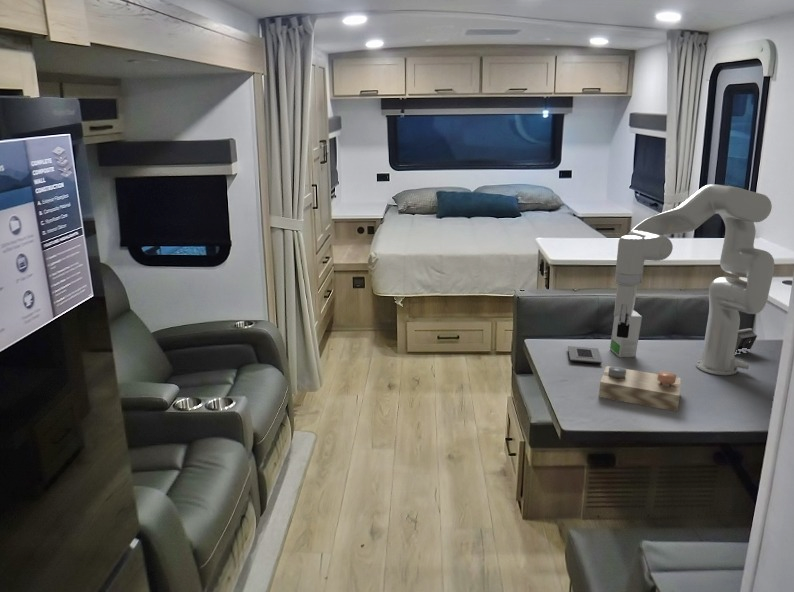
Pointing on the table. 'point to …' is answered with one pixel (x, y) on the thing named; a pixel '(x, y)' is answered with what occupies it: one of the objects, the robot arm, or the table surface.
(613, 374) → the grey button
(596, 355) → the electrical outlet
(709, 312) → the robot arm
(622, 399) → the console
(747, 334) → the electrical switch
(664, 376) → the terracotta button
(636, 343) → the skincare box
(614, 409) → the table surface
